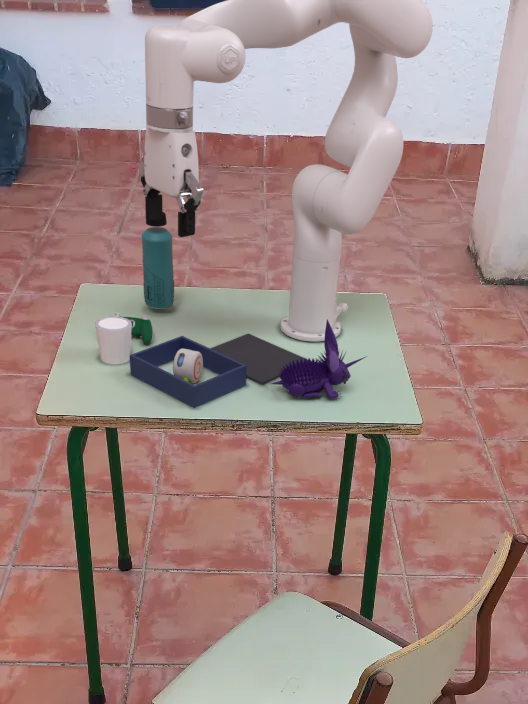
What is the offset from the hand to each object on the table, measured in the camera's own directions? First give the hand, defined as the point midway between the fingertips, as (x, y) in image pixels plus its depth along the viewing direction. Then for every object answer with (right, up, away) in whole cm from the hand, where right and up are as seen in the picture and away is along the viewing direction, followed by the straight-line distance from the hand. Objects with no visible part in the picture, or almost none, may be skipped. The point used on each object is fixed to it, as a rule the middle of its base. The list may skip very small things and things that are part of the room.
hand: (170, 227), depth 155 cm
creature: (+26, -26, +11) cm, 38 cm away
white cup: (-12, -18, +17) cm, 28 cm away
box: (+2, -24, +11) cm, 26 cm away
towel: (+14, -17, +20) cm, 30 cm away
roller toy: (+2, -24, +12) cm, 27 cm away
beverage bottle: (-6, -3, +36) cm, 37 cm away
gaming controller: (-11, -12, +24) cm, 29 cm away
